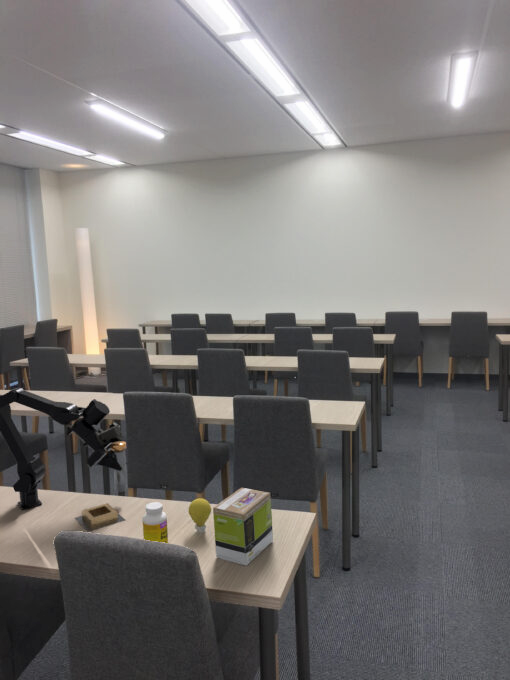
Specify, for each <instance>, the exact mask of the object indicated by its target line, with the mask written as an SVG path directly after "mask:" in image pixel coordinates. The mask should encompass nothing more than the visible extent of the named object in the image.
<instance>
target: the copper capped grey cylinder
mask: <svg viewBox="0 0 510 680" xmlns="http://www.w3.org/2000/svg"><path fill="white" fill-rule="evenodd" d="M111 450H113V458H114V459H115V460H116V461H117V462H118V463H119V465H120V466H121V467H122V470H121V471H118V470H115V469H113V478H114V479H113V480H114V491H115V492H116V493H118V492H119V493H123V492H125V491H127V490H128V478H127V477H128V476H127V475H128V474H127V473H128V472H127V465H126V462H127V461H126V460H127V459H126V458H127V457H126V450H127V442H126V441H124V440H123V441H121V440H120V441H119V442H114V443H112V444H111Z"/></svg>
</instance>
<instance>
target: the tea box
mask: <svg viewBox="0 0 510 680" xmlns="http://www.w3.org/2000/svg"><path fill="white" fill-rule="evenodd" d="M271 495H272V494H271V492H268V491H263V490H255V489H251V488H245V487H240V488H239V489H237V490H236V491H235V492H233V493H232V494H231V495H229V496H228V497H226V498H224V499H223V500H222V501H221V502H219V503H218V504H216V505H215V506H213V507H212V508H213V511H212V513H213V527H214V528H213V529H214V540H215V541H214V543H215V545H214V546H215V557H216V558H218V559H220V560H224V561H227V562H230V563H233V564H234V563H235V564H238V565H242V566H247V565H249V564H250V563H251V562H252V561H253V560H254V559H255V558H257V557H258V555H260V554H261V553H262V552H263V550H265V549H266V548H268V546H269V545H270V544H271V543H272V542H273V541H274V533H273V532H274V531H273V514H272V500H271V499H272V498H271V497H272V496H271Z"/></svg>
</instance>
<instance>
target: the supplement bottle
mask: <svg viewBox="0 0 510 680" xmlns="http://www.w3.org/2000/svg"><path fill="white" fill-rule="evenodd" d="M163 507H164V506H163V503H162V502H157V501H154V502H149V503H148V504H146V505H145V514H144V515H143V516H142V533H143V534H142V535H143V540H144V539H145V540H150V541H158V542H165V543H168V544H169V535H168V534H169V532H168V517H167V514H166V512H164V511H163V510H164V508H163Z"/></svg>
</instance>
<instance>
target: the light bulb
mask: <svg viewBox="0 0 510 680" xmlns="http://www.w3.org/2000/svg"><path fill="white" fill-rule="evenodd" d="M211 512H212V507H211V504H210V502H209V500H207V499H205V498H195V499H194V500H192V502H190V504H189V507H188V514H189V516H190V518H191V519H192V521H193V522H194V523H195V526H194V529H195V530H196V533H198V534H203V533H205V531H206V529H207V523H206V522H207V521H208V520H209V517H210V515H211Z"/></svg>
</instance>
